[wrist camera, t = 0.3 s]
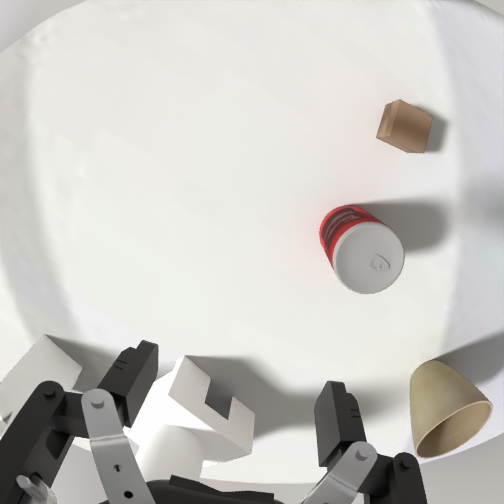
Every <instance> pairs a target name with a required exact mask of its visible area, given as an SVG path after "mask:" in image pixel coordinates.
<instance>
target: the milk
mask: <svg viewBox="0 0 504 504" xmlns="http://www.w3.org/2000/svg"><path fill="white" fill-rule="evenodd" d="M81 370H82V367H81V366H80V365H79V364H78V363H76V362H75V361H74V360H73V359H72V358H70V357H69V356H68V355H67V354H66V353H65V352H64V351H62V350H61V349H60V348H59V347H58V346H57V345H56V344H55V343H54V342H52V341H51V340H50V339H49V338H48V337H47V336H46V335H45V334H44V335H43V336H42V337H41V338H40V339H39V340H38V341H37V342H36V343H35V344H34V345H33V347H32V348H31V349H30V350H29V351H28V352H27V353H26V354H25V355H24V356H23V357H22V359H21V360H20V361H19V362H18V363H17V364H16V365H15V366H14V367H13V369H12V370H11V371H10V372H9V373H8V374H7V375H6V377H5V378H4V379H3V380H2V381H1V382H0V419H1V422H0V440H1V438H2V437H3V435H4V434H5V432H6V430H7V429H8V427H9V426H10V424H11V423H12V421H13V420H14V418H15V417H16V415H17V414H18V412H19V411H20V410H21V408H22V407H23V405H24V404H25V402H26V401H27V400H28V398H29V397H30V395H31V394H32V393H33V391H34V390H35V388H36V387H37V386H38V385H39V384H40V383H41V382H44V381H48V380H51V381H55V382H58V383H59V384H60V385H61V386H62V387H63V389H64V391H66V392H71V390H72V389H73V387H74V385H75V383H76V380H77V378H78V376H79V374H80V372H81Z"/></svg>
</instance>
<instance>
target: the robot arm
mask: <svg viewBox="0 0 504 504" xmlns="http://www.w3.org/2000/svg"><path fill="white" fill-rule="evenodd" d="M157 372H158V344H155V343H151V342H148V341H145V340H142V341H141V342H140V344H139V345H138V347H137V349H135V348H132V347H129V348H127V349H126V350H124V351H122V352H121V354H120V355H119V356H118V358H117V360H116V361H115V362H114V364H113V366H112V367H111V368H110V369H109V371H108V372H107V374H106V375H105V377H104V378H103V380H102V381H101V383H100V384H99V386H98V387H97V388H96V389H91V390H88V391H86V392H85V393H84V394H78V393H72V392H66V391H64V389H63V387H62V386H61V385H60V384H59V383H58V382H55V381H51V380H48V381H44V382H41V383H40V384H39V385H38V386H37V387H36V388H35V390H34V391H33V393H32V394H31V395H30V397H29V398H28V400H27V401H26V402H25V404H24V405H23V407H22V408H21V410H20V411H19V412H18V414H17V415H16V417H15V418H14V420H13V421H12V423H11V424H10V426H9V427H8V429H7V430H6V432H5V434H4V435H3V437H2V438H1V440H0V504H57V499H56V496H55V494H54V493H53V492H52V490H51V489H50V488H51V486H52V484H53V481H54V479H55V477H56V475H57V473H58V470H59V469H60V466H61V464H62V462H63V460H64V458H65V456H66V454H67V452H68V450H69V448H70V446H71V444H72V442H73V440H74V438H75V436H76V437H81V438H88V439H90V446H91V450H92V453H93V457H94V460H95V463H96V467H97V470H98V473H99V476H100V479H101V482H102V485H103V487H104V490H105V493H106V495H107V498H108V500H106V501H104V502H102V503H99V504H284V503H282V502H280V501H278V500H275V499H274V494H273V493H265V492H256V491H235V492H221V491H218V490H216V489H213V488H211V487H209V486H206V485H204V484H202V483H200V482H198V481H195V480H191V479H187V478H183V477H179V476H175V475H172V474H171V477H170V480H167V479H160V480H152V481H148V482H145V480H144V478H143V476H142V474H141V471H140V469H139V467H138V464H137V462H136V459H135V457H134V455H133V452H132V450H131V447H130V444H129V442H128V439H127V437H126V436H125V434H124V431H123V428H124V426H125V427H128V428H130V429H131V428H132V426H133V424H134V422H135V420H136V417H137V415H138V413H139V411H140V409H141V407H142V405H143V403H144V401H145V399H146V397H147V395H148V393H149V391H150V389H151V387H152V385H153V383H154V381H155V378H156V376H157ZM314 413H315V424H316V435H317V447H318V459H319V467H327V473H326V474H325V475H324V476H323V477H322V479H321V480H320V481H319V482H318V483H317V485H316V486H315V487H314V488H313V489H312V490H311V491H310V492H309V493H308V494H307V496H306V497H305V498H304V499H303V500H302V501H301V502H300V503H299V504H351V503H352V502H353V500H354V499H355V497H356V496H357V494H358V492H360V493H363V494H364V504H427V499H426V494H425V490H424V485H423V481H422V476H421V472H420V468H419V464H418V461H417V459H416V458H415V457H414V456H413V455H411V454H409V453H406V452H403V453H399V454H397V455H396V456H395V457H394V458H393V457H388V456H384V455H380V454H378V453H377V452H376V450H375V448H374V447H373V446H372V445H371V444H369V443H367V440H366V436H365V432H364V427H363V423H362V419H361V415H360V411H359V407H358V403H357V400H356V399H355V398H354V396H353V395H352V394H351V393H346V389H345V385H344V383H343V382H336V381H327V382H326V384H325V386H324V388H323V390H322V392H321V394H320V396H319V398H318V399H317V401H316V404H315V410H314Z"/></svg>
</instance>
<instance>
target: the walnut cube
mask: <svg viewBox="0 0 504 504" xmlns="http://www.w3.org/2000/svg"><path fill="white" fill-rule="evenodd" d="M432 120H433V117H431V116H430V115H428V114H426V113H424V112H423V111H421V110H419V109H417V108H415V107H414V106H412V105H410V104H408V103H406V102H404V101H402V100H400V99H399V100H397V101H394V102H392V103H390V104H387V105H385V109H384V112H383V116H382V119H381V123H380V126H379V130H378V133H377V136H376V138H377V139H380V140H382V141H384V142H386V143H388V144H390V145H393V146H395V147H397V148H399V149H401V150H403V151H405V152H407V153H424V150H425V147H426V143H427V139H428V136H429V132H430V128H431V124H432Z"/></svg>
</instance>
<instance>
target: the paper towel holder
mask: <svg viewBox="0 0 504 504" xmlns="http://www.w3.org/2000/svg"><path fill="white" fill-rule="evenodd" d="M210 381H211V378H210V377H209V376H208V375H207V374H206V373H204V372H203V371H202V370H201V369H200V368H199V367H198V366H196V365H195V364H194V363H193V362H192V361H191V360H190V359H189V358H187V357H186V356H185V355H184V356H182V357H181V358H179V359H178V360H177V362H176V364H175V366H174V369H173V371H171V372H170V373H168V374H166V375H165V376H163V377H161V378H160V379H158V380H156V381H155V382H154V383H153V385H152V387H151V389H150V391H149V393H148V395H147V397H146V399H145V401H144V403H143V405H142V407H141V409H140V411H139V413H138V415H137V417H136V420H135V422H134V424H133V426H132V428H131V429H130V428H128V427H125V426H124V428H123V431H124V434H125V435H126V436H127V437H129V438H130V439H132V440H133V441H134V442H136V443H137V444H139V445H140V448H139V451H138V453H137V455H136V458H135V459H136V462H137V464H138V467H139V469H140V471H141V474H142V476H143V478H144V480H145V482H148V481H152V480H160V479H167V480H170V477H171V474H172V475H175V476H179V477H183V478H187V479H191V480H195V481H198V482H199V478H200V473H201V469H202V468H204V467H208V466H212V465H216V464H219V463H223V462H227V461H230V460H233V459H237V458H240V457H243V456H246V455H249V454H251V453H252V443H253V433H254V423H255V413H254V412H253V411H251V410H250V409H249V408H247V407H246V406H245V405H243V404H242V403H241V402H240V401H238V400H237V399H236V398H235V397H233V396H232V402H231V407H230V413H229V418H228V420H226V419H225V418H224V417H222V416H221V415H220V414H218V413H217V412H216V411H214V410H213V409H212V408H210V407H209V406H208V405H206V404H205V403H204V402H205V399H206V395H207V392H208V388H209V385H210Z"/></svg>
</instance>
